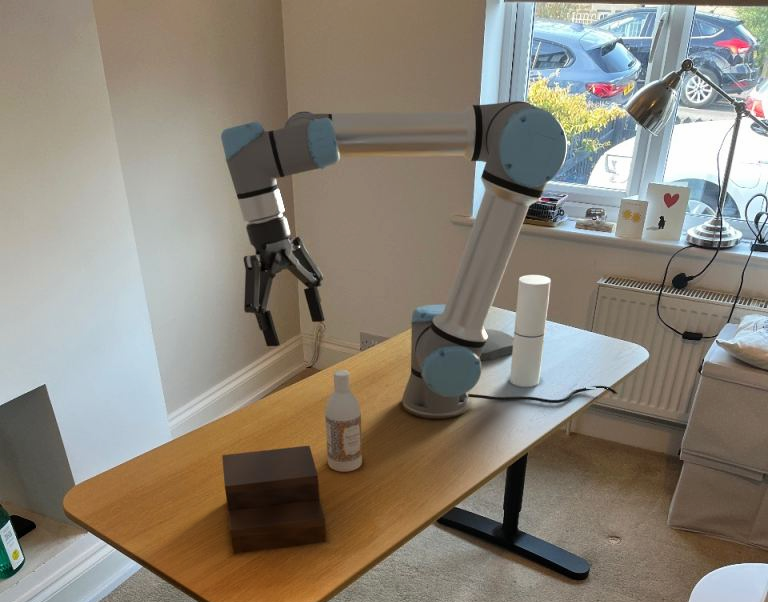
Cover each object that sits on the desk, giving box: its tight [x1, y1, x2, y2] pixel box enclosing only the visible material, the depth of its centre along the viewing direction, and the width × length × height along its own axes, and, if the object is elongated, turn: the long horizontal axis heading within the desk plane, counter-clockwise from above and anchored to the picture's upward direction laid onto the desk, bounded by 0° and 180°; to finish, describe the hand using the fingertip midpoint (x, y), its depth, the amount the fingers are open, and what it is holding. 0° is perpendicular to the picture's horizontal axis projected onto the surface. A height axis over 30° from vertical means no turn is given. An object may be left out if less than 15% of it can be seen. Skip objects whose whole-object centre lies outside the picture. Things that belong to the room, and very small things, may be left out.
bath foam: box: [324, 369, 363, 473], centre depth 150 cm, size 7×7×20 cm
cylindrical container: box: [509, 274, 552, 388], centre depth 181 cm, size 7×7×25 cm
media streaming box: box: [480, 328, 514, 361], centre depth 205 cm, size 15×15×3 cm
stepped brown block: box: [221, 445, 327, 555], centre depth 136 cm, size 16×17×10 cm
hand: (296, 333), depth 147 cm, fingers open, 13 cm apart
